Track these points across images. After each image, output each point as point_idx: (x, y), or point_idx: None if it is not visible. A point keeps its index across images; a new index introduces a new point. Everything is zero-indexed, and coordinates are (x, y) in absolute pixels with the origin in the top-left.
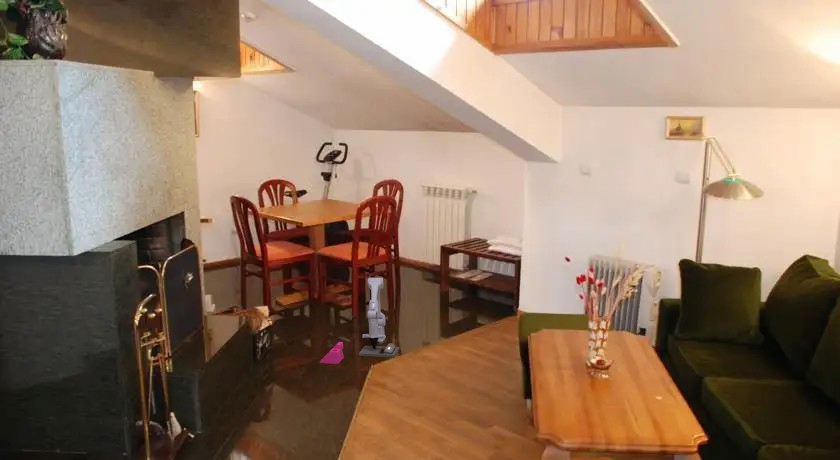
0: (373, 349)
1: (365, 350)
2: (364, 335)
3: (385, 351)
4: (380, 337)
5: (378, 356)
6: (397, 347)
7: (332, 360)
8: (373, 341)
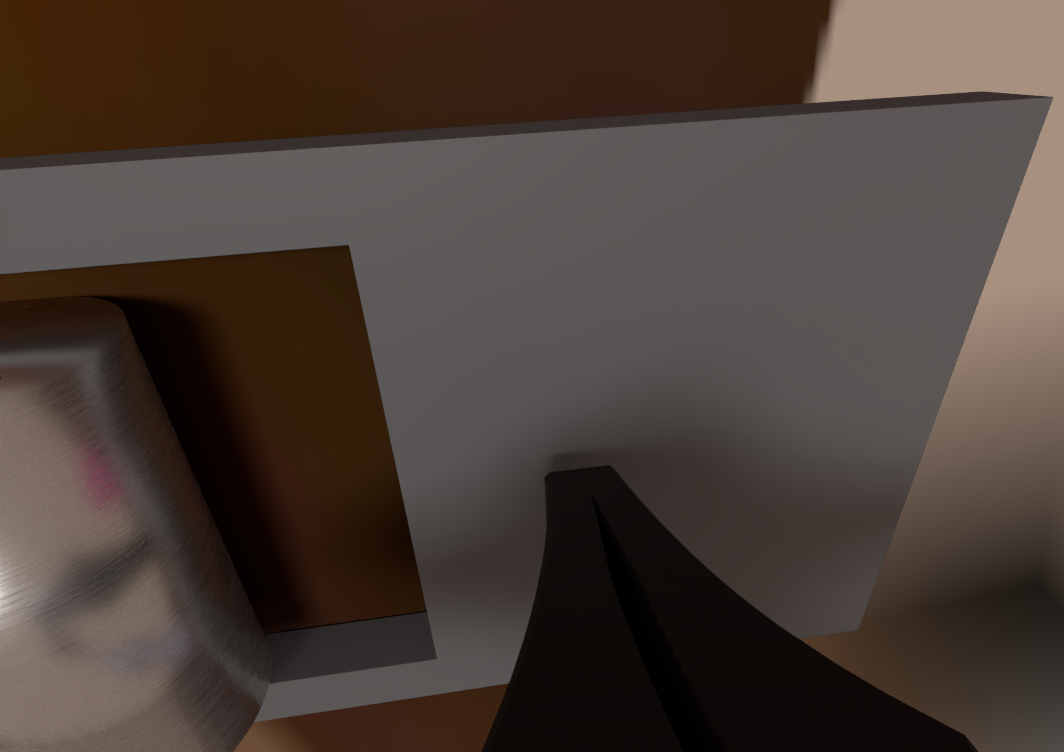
0: None
1: (825, 400)
2: None
3: (21, 362)
4: None
5: (295, 139)
6: None
7: None
8: (672, 738)
